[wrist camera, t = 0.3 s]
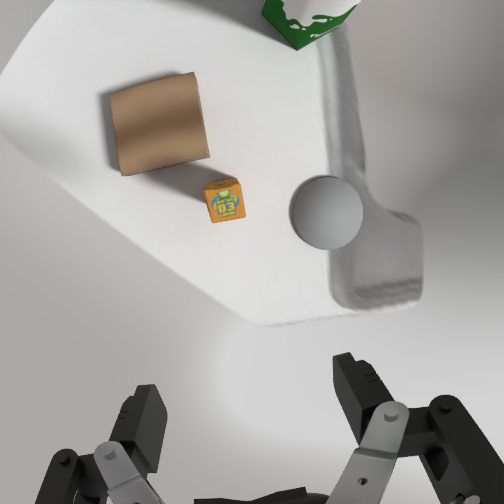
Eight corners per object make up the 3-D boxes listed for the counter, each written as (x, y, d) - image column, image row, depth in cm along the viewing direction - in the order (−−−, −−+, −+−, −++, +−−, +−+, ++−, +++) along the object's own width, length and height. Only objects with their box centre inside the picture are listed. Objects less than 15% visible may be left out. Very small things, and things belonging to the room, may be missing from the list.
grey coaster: (287, 182, 36) (288, 182, 35) (357, 173, 36) (358, 173, 35) (298, 254, 38) (299, 255, 37) (364, 242, 38) (365, 243, 38)
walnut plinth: (118, 99, 32) (109, 94, 29) (196, 79, 32) (193, 71, 29) (130, 175, 34) (121, 176, 31) (209, 157, 34) (207, 155, 31)
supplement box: (215, 211, 36) (208, 225, 26) (209, 182, 35) (200, 186, 25) (243, 205, 36) (246, 217, 26) (237, 177, 35) (239, 178, 25)
